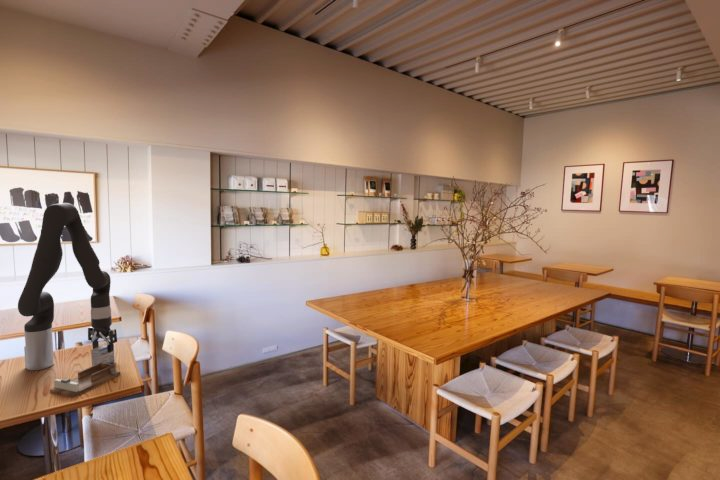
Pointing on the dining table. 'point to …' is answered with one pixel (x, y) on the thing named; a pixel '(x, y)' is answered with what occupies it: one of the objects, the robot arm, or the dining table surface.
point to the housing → (90, 378)
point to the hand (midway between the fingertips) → (103, 350)
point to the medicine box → (102, 355)
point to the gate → (66, 384)
